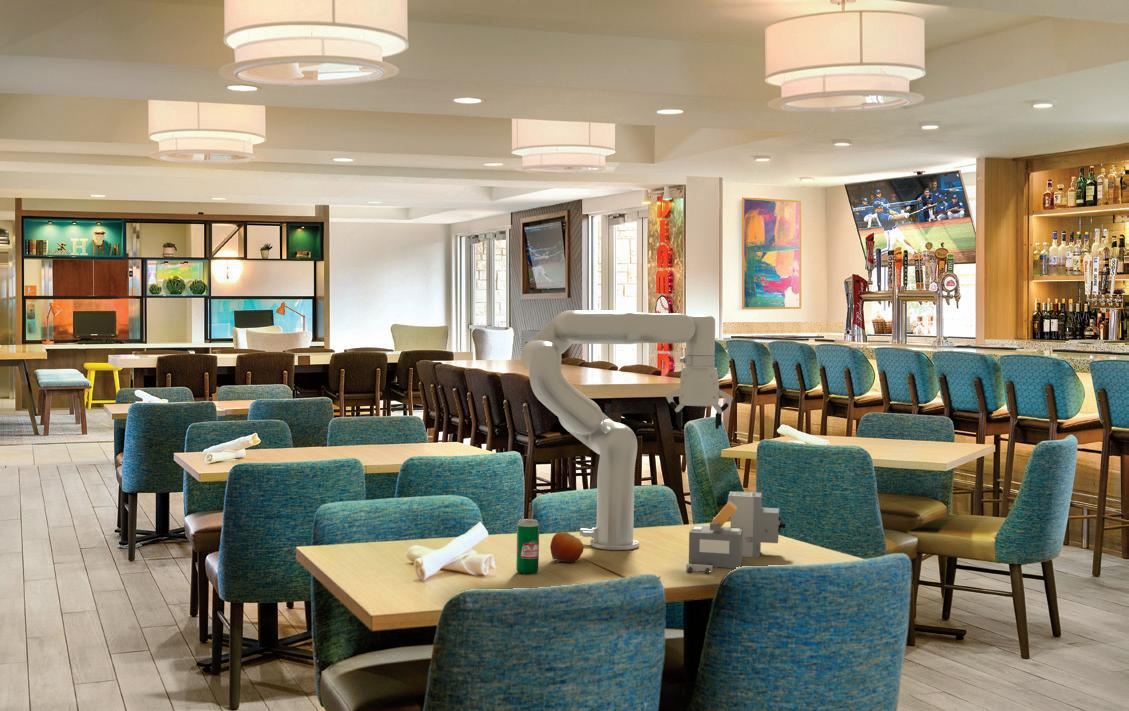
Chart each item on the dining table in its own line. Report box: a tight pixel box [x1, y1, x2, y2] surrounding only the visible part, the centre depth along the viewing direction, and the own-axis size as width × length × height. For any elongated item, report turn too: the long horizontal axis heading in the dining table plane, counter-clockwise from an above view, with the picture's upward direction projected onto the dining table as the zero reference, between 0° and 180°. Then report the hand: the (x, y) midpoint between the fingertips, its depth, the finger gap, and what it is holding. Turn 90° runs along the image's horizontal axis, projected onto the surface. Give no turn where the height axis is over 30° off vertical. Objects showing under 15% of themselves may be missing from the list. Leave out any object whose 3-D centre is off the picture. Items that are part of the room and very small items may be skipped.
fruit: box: [549, 531, 585, 565], centre depth 281 cm, size 8×8×8 cm
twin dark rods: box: [685, 562, 714, 574], centre depth 274 cm, size 6×8×1 cm
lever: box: [711, 501, 737, 528], centre depth 281 cm, size 2×6×7 cm
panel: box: [688, 516, 743, 569], centre depth 282 cm, size 12×10×10 cm
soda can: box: [515, 518, 540, 576], centre depth 268 cm, size 5×5×12 cm
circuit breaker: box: [727, 491, 787, 558], centre depth 293 cm, size 8×14×15 cm, turn 78°
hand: (698, 427), depth 306 cm, fingers open, 9 cm apart
